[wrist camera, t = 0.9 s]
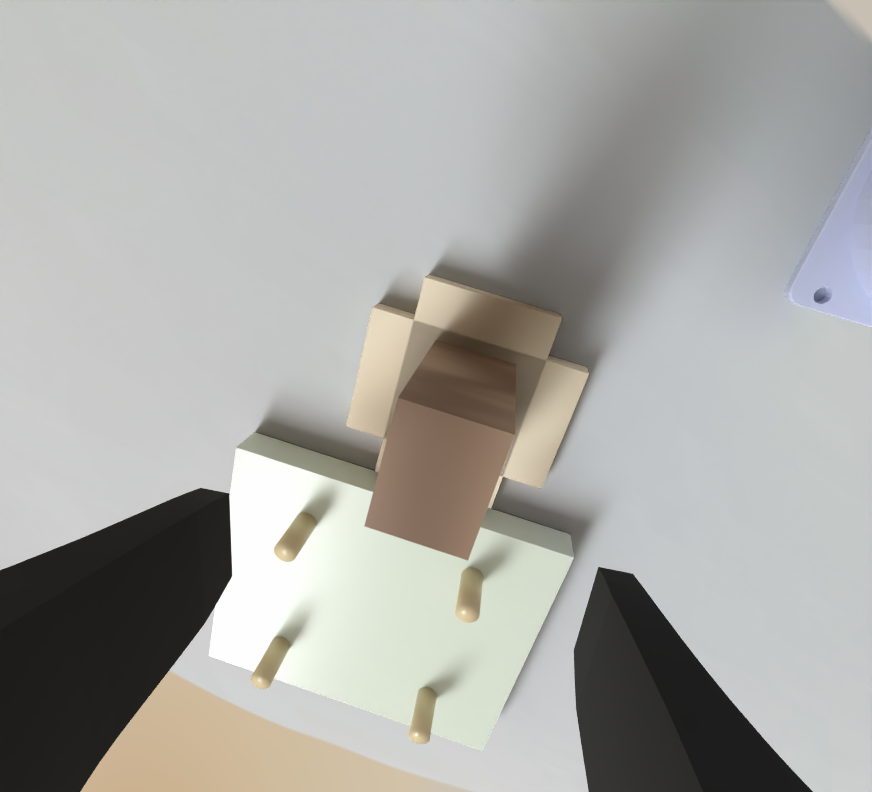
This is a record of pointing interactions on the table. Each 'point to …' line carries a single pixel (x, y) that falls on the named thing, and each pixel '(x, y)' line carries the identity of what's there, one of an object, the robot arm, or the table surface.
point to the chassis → (377, 597)
